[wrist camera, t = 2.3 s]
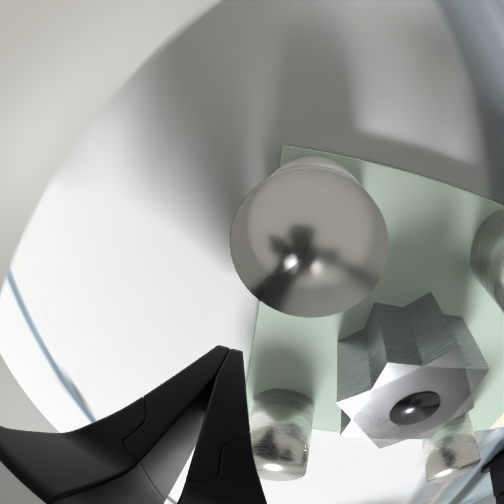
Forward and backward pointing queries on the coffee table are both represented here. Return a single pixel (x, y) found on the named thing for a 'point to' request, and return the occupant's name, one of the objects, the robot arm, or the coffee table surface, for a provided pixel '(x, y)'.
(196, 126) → the coffee table surface
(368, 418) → the gear
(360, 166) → the mat
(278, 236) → the spacer field
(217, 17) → the coffee table surface
